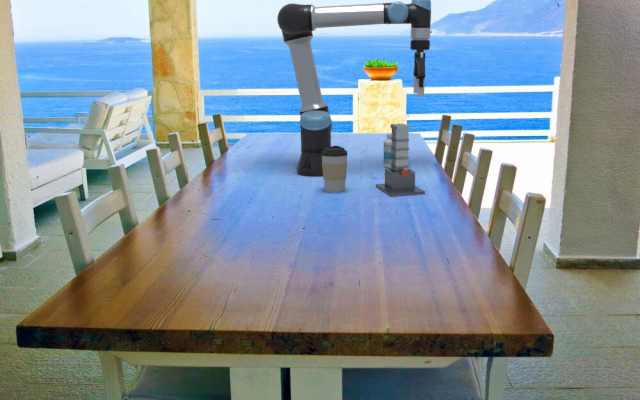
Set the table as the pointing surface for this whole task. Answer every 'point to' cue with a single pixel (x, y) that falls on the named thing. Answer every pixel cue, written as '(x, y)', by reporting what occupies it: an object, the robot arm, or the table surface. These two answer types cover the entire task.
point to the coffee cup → (334, 168)
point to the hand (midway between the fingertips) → (418, 94)
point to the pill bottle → (388, 151)
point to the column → (399, 147)
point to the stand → (400, 183)
